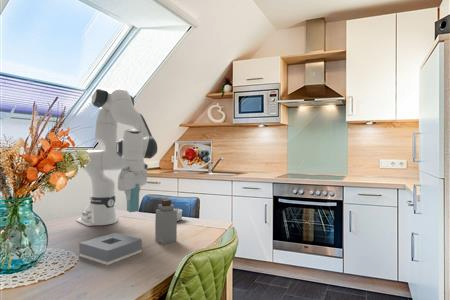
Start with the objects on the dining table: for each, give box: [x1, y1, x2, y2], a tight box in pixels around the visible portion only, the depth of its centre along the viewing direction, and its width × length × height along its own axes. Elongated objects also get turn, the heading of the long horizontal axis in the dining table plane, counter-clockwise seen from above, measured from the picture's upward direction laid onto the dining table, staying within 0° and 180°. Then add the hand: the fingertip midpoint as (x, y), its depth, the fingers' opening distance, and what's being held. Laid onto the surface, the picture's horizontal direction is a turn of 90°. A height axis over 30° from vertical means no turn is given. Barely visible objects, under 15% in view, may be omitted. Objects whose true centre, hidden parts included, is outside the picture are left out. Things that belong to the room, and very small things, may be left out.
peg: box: [126, 184, 140, 213], centre depth 134 cm, size 4×4×12 cm
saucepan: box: [174, 208, 183, 222], centre depth 177 cm, size 12×20×6 cm, turn 7°
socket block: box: [79, 232, 143, 266], centre depth 118 cm, size 16×16×5 cm
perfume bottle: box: [154, 198, 178, 245], centre depth 135 cm, size 7×7×18 cm
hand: (132, 198), depth 135 cm, fingers closed on peg, 6 cm apart
